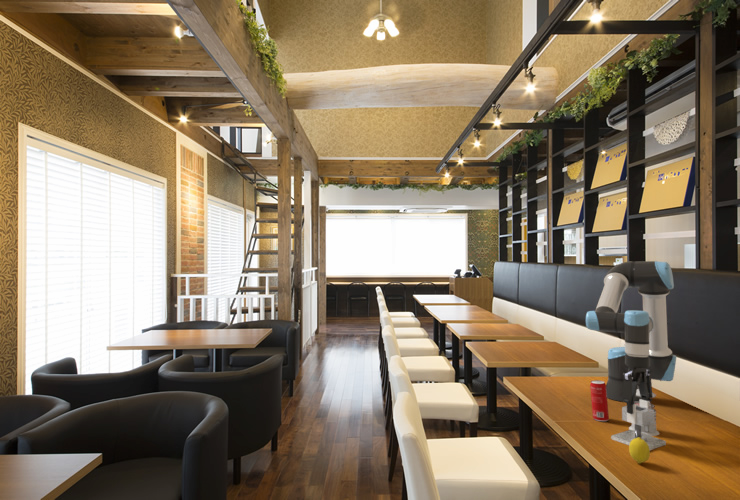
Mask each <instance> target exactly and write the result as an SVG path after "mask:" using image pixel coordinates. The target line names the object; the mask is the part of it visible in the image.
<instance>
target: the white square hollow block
mask: <svg viewBox="0 0 740 500" xmlns="http://www.w3.org/2000/svg"><path fill="white" fill-rule="evenodd" d="M653 409H654V408H653ZM653 409H650V408H646V407H642V406H639V405H636V424H637V425H640V426H645V425H648V424H651V423H654V410H653ZM621 421H625V422H627V405H625V406H622V407H621Z"/></svg>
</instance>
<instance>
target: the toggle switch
mask: <svg viewBox="0 0 740 500" xmlns="http://www.w3.org/2000/svg"><path fill="white" fill-rule="evenodd" d="M638 437H640V438H641V439H643V440H644V441H645V442H646V443H647V444H648V446H649V450H650V451H652V450H655V449H658V448H660V447H663V446H666V445H667V441H666V440H664V439H661V438H657V437H656V436H655V437H654V436H649V435H646V434H643V433H641V426H640V425H637V424H635V431H634V430H629V429H628V430H625V431H622V432H618V433H616V434H612V435H611V437H610V439H611V440H613V441H615V442H619V443H622V444H624V445H627V446H629V445H630V442H631V441H632V440H633V439H635V438H638Z"/></svg>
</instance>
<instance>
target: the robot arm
mask: <svg viewBox="0 0 740 500" xmlns="http://www.w3.org/2000/svg"><path fill="white" fill-rule="evenodd" d="M672 271H673V270H672V268H671V264H670V263H669V262H667V261H658V260H655V261H654V260H652V261H650V260H648V261H643V260H642V261H640V260H639V261H629V260H628V261H624V262H620V263H619V264H617V265H615V266H613V267H612V268H611V269H610V270H608V271H607V272H606V274H605V275H604V278H603V284H604V286H603V289H602V291H601V295H600V296H599V299H598V303H597V304H596V308H595V310H589V311H587V312H586V314H585V326H586V328H587V330H591V331H597V332H607V333H608V332H609V333H619V334H620V333H621V334H624V346H618V347H617V346H616V347H611V348H609V349H608V352H607V382H606V383H605V384H606V390H607V399H611V400H613V401H616V402H621V403H622V402H623V403H626V406H627V421H626V422H628V423H631V424H632V423H633V424H636V404H634V402H639V406H642V407H646V408H649V404H648V401H650V402H652V401H653V398H652V397H653V396H652V392H653V386H652V383H653V382H652V380H654V381H660V382H672V381H673V380H674V377H675V371H676V370H675V368H676V364H677V355H675V354H673V350H671V348H669V346H668V345H669V344H668V324H667V323H668V321H667V320H668V318H667V299H666V298H667V297H666V296H667V295H669V294H670V292H671V291H670V290H673V289H674V287H675V284H674V277H673V276H674V275H673V272H672ZM628 288H633V289H635V288H637V292H638V294H640V295H641V296H642V310H637V309H636V310H635V309H634V310H633V309H632V310H631V309H630V310H628V309H627V310H626V311H625V312H618V310H619V308H620V304H621V301H622V297H623V295H624V294H623V293H624V291H626V290H627V289H628ZM637 389H639V392H640V396H641V397H638V396H636V392H637Z"/></svg>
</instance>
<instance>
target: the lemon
mask: <svg viewBox="0 0 740 500" xmlns="http://www.w3.org/2000/svg"><path fill="white" fill-rule="evenodd" d="M628 451H629V454H630V457H631V458H632V459H633V460H634V461H636V462H637V464H642V463H646V462H647V461H648V460H649V459H650V456H651V455H650V454H651V450H649V446H648V444H647V443H646V442H645V441H644V440H643V439H641V438H640V437H638V438H635V439H633V440H632V441H631V442H630V445H628Z"/></svg>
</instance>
